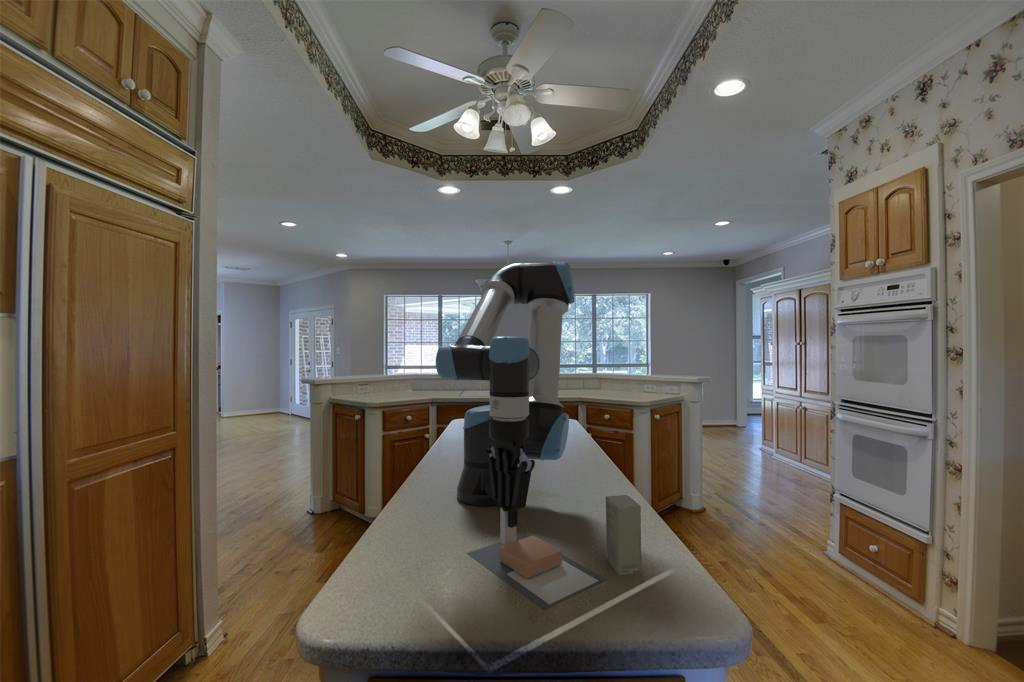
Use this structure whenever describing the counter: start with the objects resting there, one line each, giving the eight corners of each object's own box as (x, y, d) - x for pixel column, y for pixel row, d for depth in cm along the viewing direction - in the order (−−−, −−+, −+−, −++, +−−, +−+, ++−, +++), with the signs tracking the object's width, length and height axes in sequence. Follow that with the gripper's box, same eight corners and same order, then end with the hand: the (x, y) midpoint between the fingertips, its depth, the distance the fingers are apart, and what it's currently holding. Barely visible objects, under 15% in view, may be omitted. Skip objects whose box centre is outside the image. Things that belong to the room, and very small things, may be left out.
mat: (466, 556, 85) (466, 552, 85) (524, 536, 94) (524, 533, 94) (544, 613, 68) (544, 609, 68) (606, 583, 76) (606, 579, 76)
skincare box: (642, 576, 78) (642, 506, 78) (617, 578, 77) (618, 508, 77) (627, 559, 84) (627, 494, 84) (604, 560, 84) (605, 495, 84)
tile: (499, 547, 82) (527, 564, 76) (533, 535, 87) (562, 550, 80) (499, 561, 82) (527, 580, 76) (533, 549, 87) (562, 565, 80)
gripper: (473, 414, 89) (473, 534, 89) (513, 425, 78) (513, 561, 78) (504, 411, 93) (504, 525, 93) (546, 420, 83) (545, 549, 83)
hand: (508, 541), depth 86 cm, fingers closed
